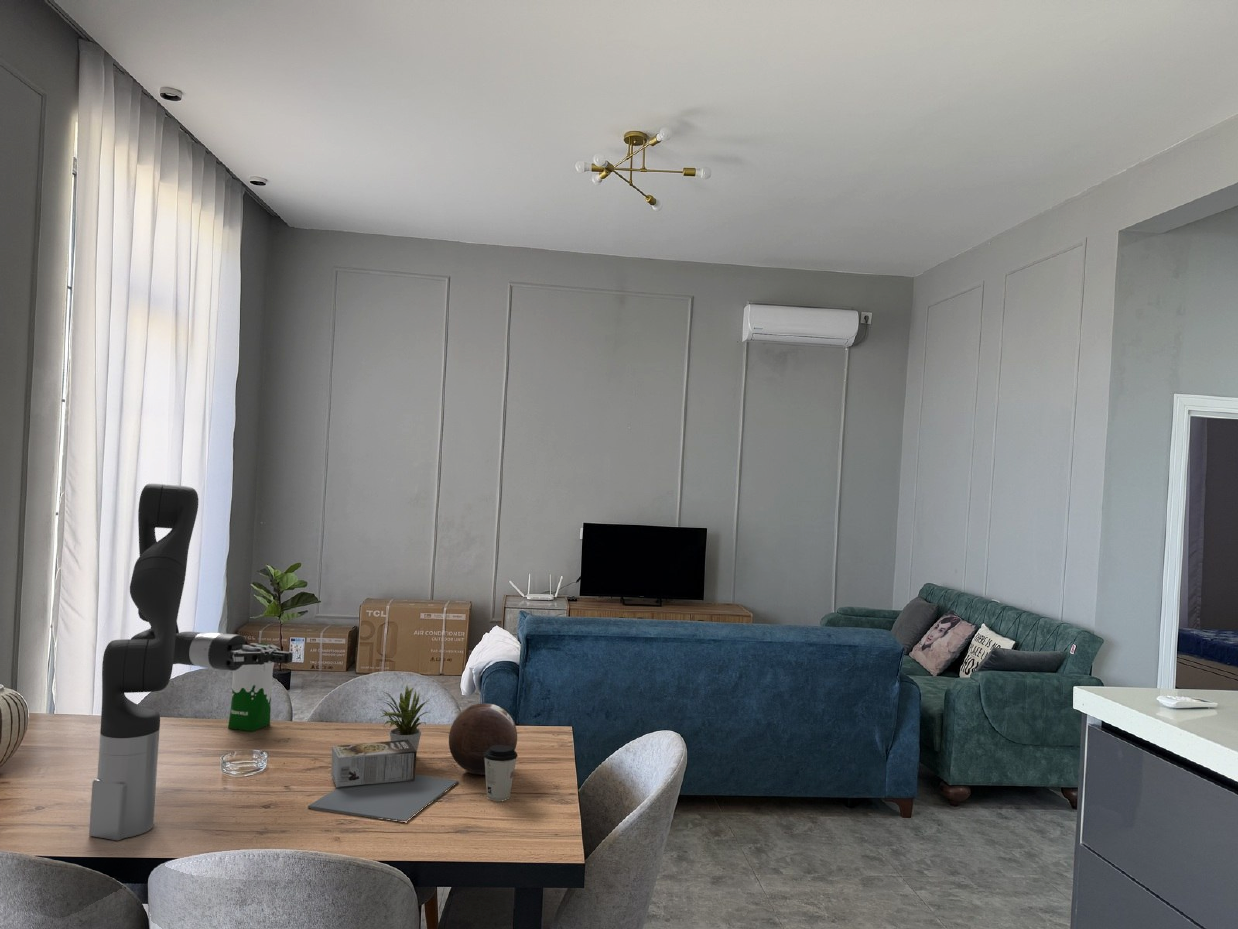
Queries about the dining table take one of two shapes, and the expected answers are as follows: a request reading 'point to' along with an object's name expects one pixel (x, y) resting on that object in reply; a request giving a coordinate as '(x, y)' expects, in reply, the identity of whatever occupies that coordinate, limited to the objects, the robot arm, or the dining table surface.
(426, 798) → the rubber mat
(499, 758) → the coffee cup
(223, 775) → the dining table surface
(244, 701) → the milk carton
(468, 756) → the wooden sphere
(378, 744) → the coffee box
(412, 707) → the house plant
